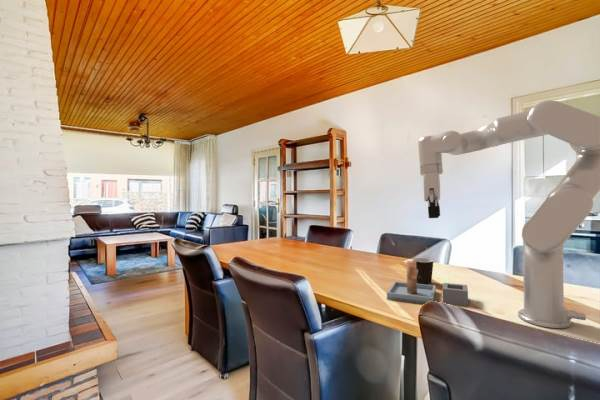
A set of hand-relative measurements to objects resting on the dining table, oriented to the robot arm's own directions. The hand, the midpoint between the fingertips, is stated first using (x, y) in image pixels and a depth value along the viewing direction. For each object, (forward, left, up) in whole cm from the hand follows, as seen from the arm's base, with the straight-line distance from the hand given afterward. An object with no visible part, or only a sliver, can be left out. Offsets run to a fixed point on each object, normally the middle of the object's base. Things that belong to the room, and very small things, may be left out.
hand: (434, 217), depth 112 cm
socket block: (-6, -3, -31) cm, 32 cm away
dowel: (+9, -3, -30) cm, 31 cm away
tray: (+9, -3, -31) cm, 32 cm away
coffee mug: (+7, -24, -31) cm, 40 cm away
